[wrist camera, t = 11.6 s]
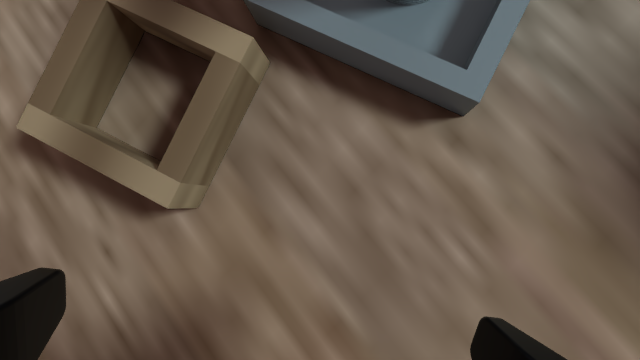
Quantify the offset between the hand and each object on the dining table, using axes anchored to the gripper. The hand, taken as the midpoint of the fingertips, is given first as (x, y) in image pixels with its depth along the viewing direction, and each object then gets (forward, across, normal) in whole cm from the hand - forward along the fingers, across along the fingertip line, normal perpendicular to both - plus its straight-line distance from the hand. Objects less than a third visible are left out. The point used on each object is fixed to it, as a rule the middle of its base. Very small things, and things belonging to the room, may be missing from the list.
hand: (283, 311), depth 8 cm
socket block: (+13, +6, -2) cm, 15 cm away
